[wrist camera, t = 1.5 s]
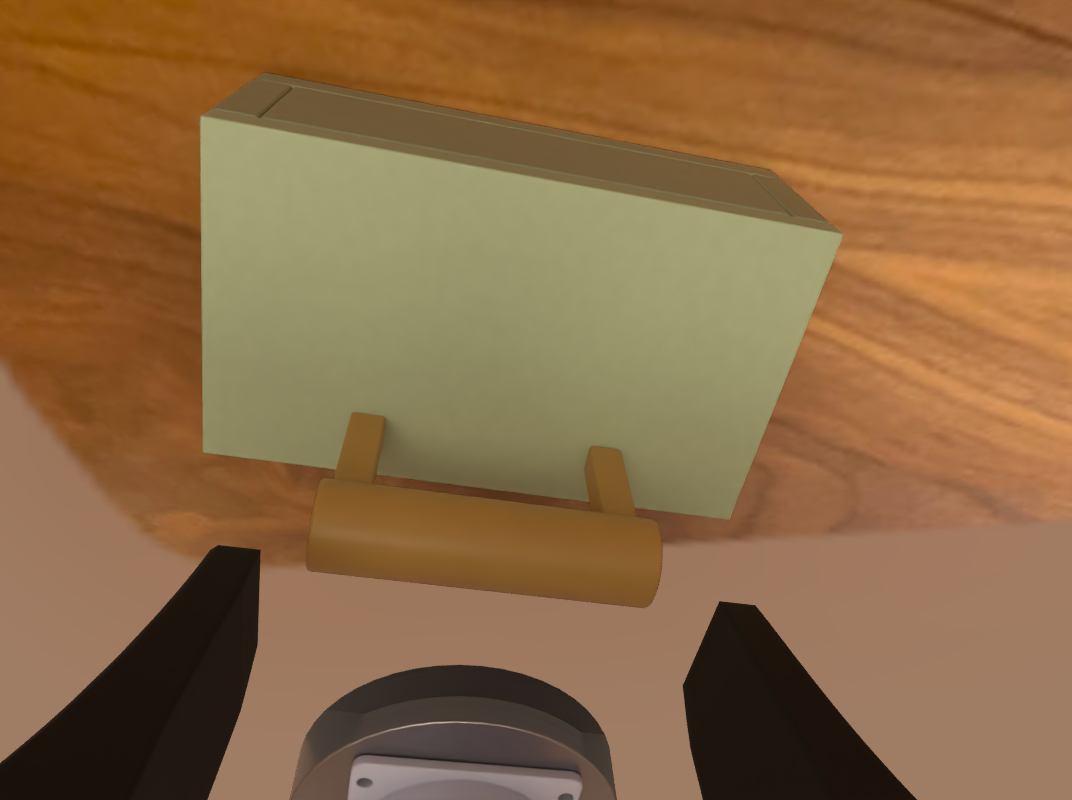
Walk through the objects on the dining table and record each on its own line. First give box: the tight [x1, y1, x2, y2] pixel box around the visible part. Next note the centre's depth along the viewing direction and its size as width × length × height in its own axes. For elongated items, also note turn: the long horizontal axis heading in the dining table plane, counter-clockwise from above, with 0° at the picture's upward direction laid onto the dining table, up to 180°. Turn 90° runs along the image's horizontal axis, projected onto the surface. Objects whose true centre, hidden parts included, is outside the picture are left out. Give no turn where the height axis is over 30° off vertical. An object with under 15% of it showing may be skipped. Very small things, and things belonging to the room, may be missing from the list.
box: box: [212, 73, 829, 224], centre depth 18 cm, size 6×12×4 cm, turn 79°
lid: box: [200, 109, 843, 608], centre depth 15 cm, size 7×12×5 cm, turn 79°
